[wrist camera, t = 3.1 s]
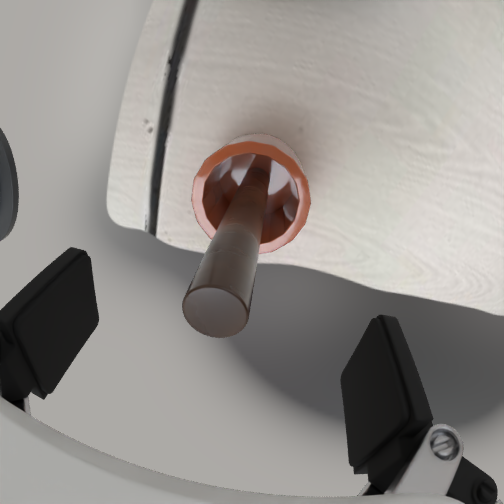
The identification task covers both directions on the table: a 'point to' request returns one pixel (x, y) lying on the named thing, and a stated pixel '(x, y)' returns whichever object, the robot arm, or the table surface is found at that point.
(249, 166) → the holder
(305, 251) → the table surface
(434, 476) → the robot arm
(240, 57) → the table surface
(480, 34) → the table surface
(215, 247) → the stick
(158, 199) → the table surface
